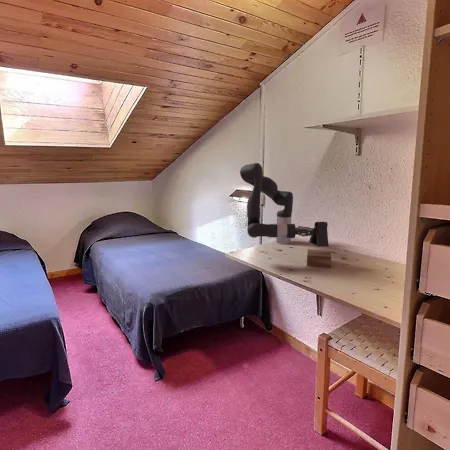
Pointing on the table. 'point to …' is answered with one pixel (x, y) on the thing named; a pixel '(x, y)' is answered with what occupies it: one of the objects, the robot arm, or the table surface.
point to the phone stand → (320, 234)
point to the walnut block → (319, 258)
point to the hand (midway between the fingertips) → (318, 231)
